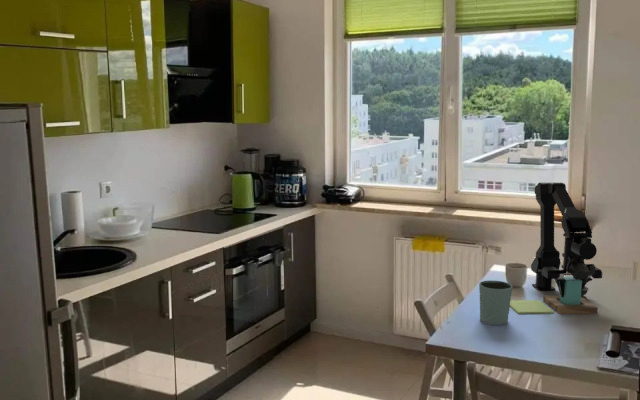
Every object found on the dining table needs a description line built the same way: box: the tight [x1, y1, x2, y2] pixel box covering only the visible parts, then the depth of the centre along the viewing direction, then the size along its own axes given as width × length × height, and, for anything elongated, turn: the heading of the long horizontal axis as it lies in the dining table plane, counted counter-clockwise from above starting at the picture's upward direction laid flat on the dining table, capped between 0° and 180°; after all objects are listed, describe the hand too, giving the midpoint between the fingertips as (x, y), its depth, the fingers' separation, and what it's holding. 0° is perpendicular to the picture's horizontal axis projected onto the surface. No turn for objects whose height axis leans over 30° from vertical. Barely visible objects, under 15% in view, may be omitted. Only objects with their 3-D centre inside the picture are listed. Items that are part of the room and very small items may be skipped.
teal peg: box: [559, 276, 582, 305], centre depth 215 cm, size 5×5×10 cm
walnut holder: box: [542, 295, 599, 315], centre depth 216 cm, size 13×13×2 cm
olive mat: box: [510, 299, 555, 315], centre depth 215 cm, size 12×12×1 cm
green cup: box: [478, 279, 513, 327], centre depth 201 cm, size 10×10×12 cm
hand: (570, 297), depth 215 cm, fingers closed on teal peg, 5 cm apart
